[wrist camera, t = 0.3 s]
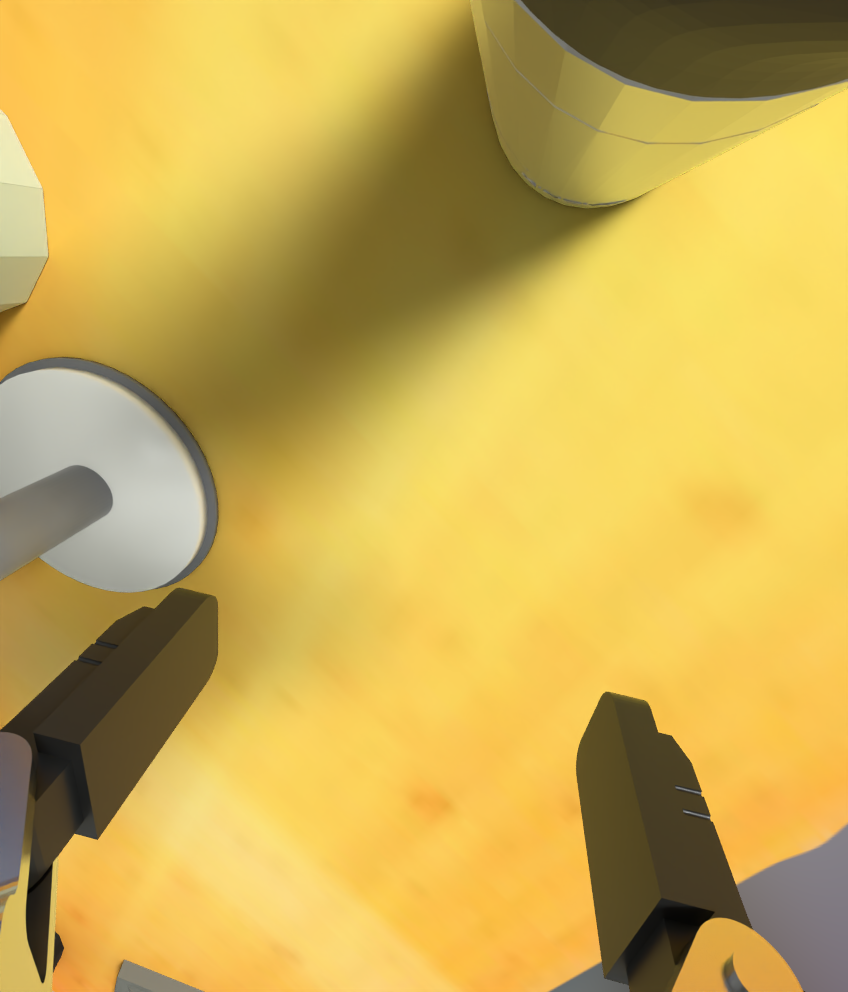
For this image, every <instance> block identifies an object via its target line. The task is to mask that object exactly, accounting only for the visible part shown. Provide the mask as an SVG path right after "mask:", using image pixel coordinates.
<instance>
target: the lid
mask: <svg viewBox="0 0 848 992" xmlns="http://www.w3.org/2000/svg"><path fill="white" fill-rule="evenodd" d="M207 520H208V515H207V500H206V494H205V489H204V486H203V482H202V479H201V476H200V473H199V471H198V468H197V466H196V464H195V461H194V460H193V458H192V456H191V454H190V452H189V450H188V448H187V447H186V445H185V444H184V442H183V441H182V439H181V438H180V437H179V435H178V434H177V432H176V431H175V430H174V429H173V428H172V426H171V425H170V424H169V423H168V422H167V420H166V419H165V418H164V417H163V416H162V415H161V414H160V413H159V412H158V411H157V410H155V409H154V408H153V407H152V406H151V405H150V404H149V403H147V402H146V401H145V400H144V399H142V398H141V397H140V396H139V395H137V394H136V393H134V392H132V391H131V390H129V389H128V388H126V387H125V386H123V385H121V384H119V383H117V382H115V381H113V380H111V379H109V378H107V377H104V376H101V375H99V374H96V373H93V372H90V371H85V370H81V369H76V368H65V367H55V368H45V369H41V370H36V371H32V372H28V373H24V374H19V375H17V376H15V377H12V378H10V379H8V380H6V381H5V382H3V383H2V384H0V581H1V580H2V579H4V578H5V577H7V576H9V575H10V574H12V573H14V572H15V571H17V570H18V569H20V568H22V567H23V566H25V565H26V564H28V563H30V562H31V561H33V560H35V559H36V558H38V557H39V558H40V559H42V560H43V561H45V562H46V563H47V564H49V565H50V566H52V567H53V568H55V569H56V570H58V571H60V572H61V573H63V574H65V575H66V576H68V577H71V578H73V579H75V580H77V581H79V582H81V583H84V584H87V585H89V586H92V587H96V588H100V589H103V590H108V591H115V592H141V591H146V590H150V589H154V588H157V587H159V586H161V585H164V584H166V583H167V582H169V581H170V580H172V579H173V578H175V577H176V576H177V575H178V574H179V573H180V572H181V571H182V570H183V569H184V568H185V567H187V566H188V565H189V564H190V563H191V562H192V560H193V559H194V558H195V556H196V555H197V554H198V552H199V550H200V547H201V545H202V543H203V540H204V537H205V533H206V528H207Z"/></svg>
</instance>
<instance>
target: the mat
mask: <svg viewBox="0 0 848 992" xmlns="http://www.w3.org/2000/svg"><path fill="white" fill-rule="evenodd" d="M55 367H65V368H76V369H81V370H85V371H90V372H93V373H96V374H99V375H101V376H104V377H107V378H109V379H111V380H113V381H115V382H117V383H119V384H121V385H123V386H125V387H126V388H128V389H129V390H131V391H132V392H134V393H136V394H137V395H139V396H140V397H141V398H142V399H144V400H145V401H146V402H147V403H149V404H150V405H151V406H152V407H153V408H154V409H155V410H157V411H158V412H159V413H160V414H161V415H162V416H163V417H164V418H165V419H166V420H167V422H168V423H169V424H170V425H171V426H172V428H173V429H174V430H175V431H176V432H177V434H178V435H179V437H180V438H181V439H182V441H183V442H184V444H185V445H186V447H187V448H188V450H189V452H190V454H191V456H192V458H193V460H194V461H195V464H196V466H197V468H198V471H199V473H200V476H201V479H202V482H203V486H204V489H205V494H206V500H207V515H208V520H207V528H206V533H205V537H204V540H203V543H202V545H201V547H200V550H199V552H198V554H197V555H196V556H195V558H194V559H193V560H192V562H191V563H190V564H189V565H188V566H187V567H185V568H184V569H183V570H182V571H181V572H180V573H179V574H178V575H177V576H176V577H175V578H173V579H172V580H170V581H169V582H167V583H166V584H164V585H161V586H159V587H157V588H161V587H166V586H169V585H171V584H174V583H176V582H178V581H180V580H182V579H183V578H185V577H186V576H188V575H189V574H190V573H191V572H192V571H193V570H195V569H196V568H197V567H198V566H199V565H200V564H201V562H202V561H203V560H204V558H205V557H206V556H207V554H208V552H209V550H210V548H211V546H212V544H213V541H214V538H215V535H216V532H217V525H218V499H217V492H216V487H215V484H214V480H213V476H212V473H211V471H210V468H209V466H208V463H207V461H206V458H205V456H204V454H203V453H202V451H201V449H200V447H199V445H198V443H197V441H196V440H195V439H194V437H193V436H192V434H191V433H190V431H189V430H188V428H187V427H186V426H185V424H184V423H183V422H182V421H181V420H180V418H179V417H178V416H177V415H176V414H175V412H174V411H173V410H172V409H171V408H170V407H169V406H167V405H166V404H165V403H164V402H163V401H162V400H161V399H160V398H159V397H158V396H157V395H155V394H154V393H153V392H152V391H150V390H149V389H148V388H147V387H145V386H144V385H142V384H141V383H139V382H137V381H136V380H134V379H133V378H131V377H130V376H128V375H126V374H124V373H122V372H120V371H118V370H116V369H114V368H111V367H108V366H105V365H103V364H100V363H97V362H93V361H89V360H84V359H80V358H68V357H58V358H47V359H42V360H38V361H34V362H30V363H27V364H25V365H23V366H21V367H19V368H16V369H15V370H14V371H12V372H11V373H9V374H8V375H7V376H5V377H4V378H3V380H2V381H1V382H0V384H2V383H3V382H5V381H6V380H8V379H10V378H12V377H15V376H17V375H19V374H24V373H28V372H32V371H36V370H41V369H45V368H55ZM157 588H154V589H157Z"/></svg>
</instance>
